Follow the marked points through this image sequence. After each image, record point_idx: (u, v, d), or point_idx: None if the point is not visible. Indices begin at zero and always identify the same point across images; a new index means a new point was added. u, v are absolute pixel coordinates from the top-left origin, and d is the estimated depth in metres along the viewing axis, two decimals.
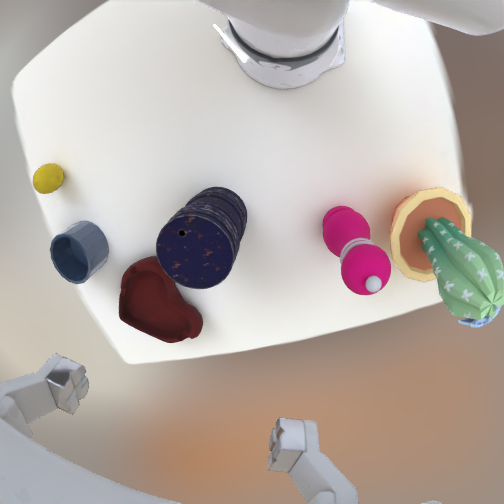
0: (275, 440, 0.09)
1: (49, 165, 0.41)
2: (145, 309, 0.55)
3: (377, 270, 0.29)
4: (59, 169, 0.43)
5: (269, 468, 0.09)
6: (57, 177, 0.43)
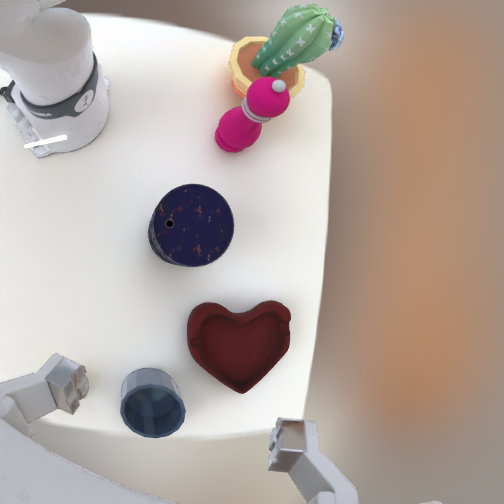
0: (275, 440, 0.09)
1: None
2: (242, 360, 0.48)
3: (269, 82, 0.33)
4: None
5: (269, 468, 0.09)
6: None
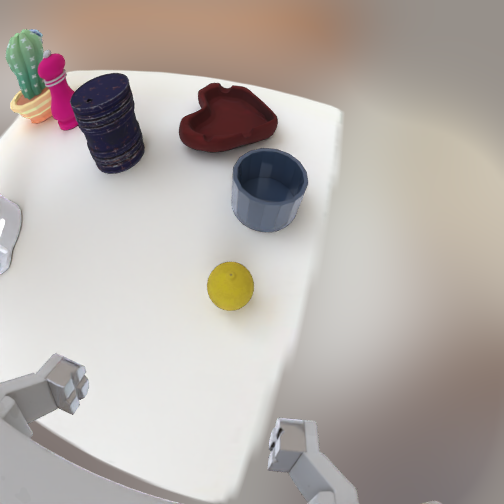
0: (275, 440, 0.09)
1: (210, 296, 0.33)
2: (247, 120, 0.50)
3: (42, 60, 0.34)
4: None
5: (269, 468, 0.09)
6: None
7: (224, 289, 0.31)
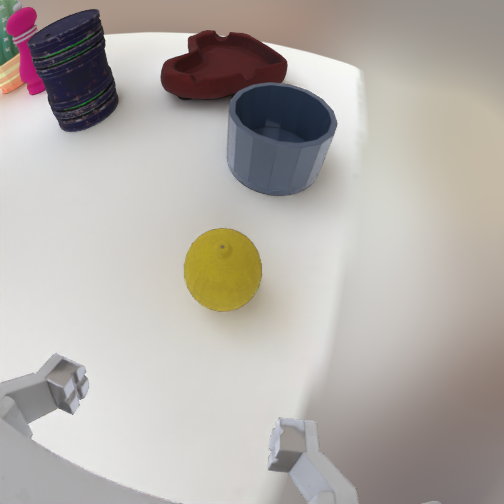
0: (275, 440, 0.09)
1: (188, 286, 0.20)
2: (248, 66, 0.36)
3: (12, 15, 0.20)
4: None
5: (269, 468, 0.09)
6: None
7: (210, 273, 0.17)
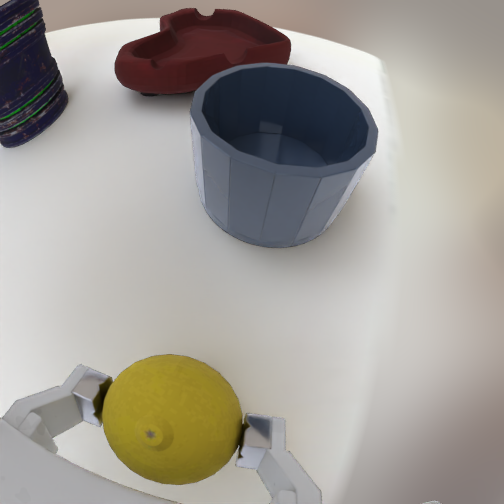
0: (243, 436, 0.09)
1: None
2: (237, 49, 0.25)
3: None
4: None
5: (236, 464, 0.09)
6: None
7: (138, 465, 0.07)
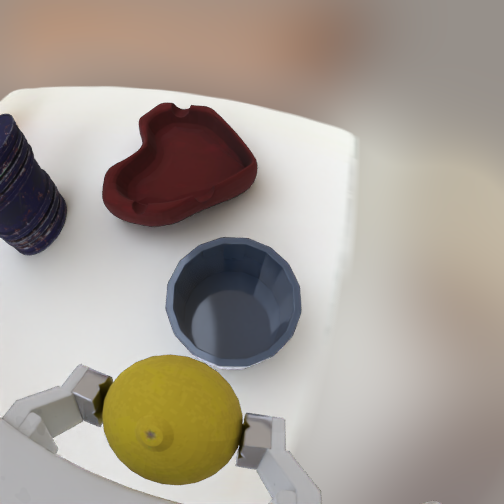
0: (243, 436, 0.09)
1: None
2: (210, 163, 0.33)
3: None
4: None
5: (236, 464, 0.09)
6: None
7: (138, 465, 0.07)
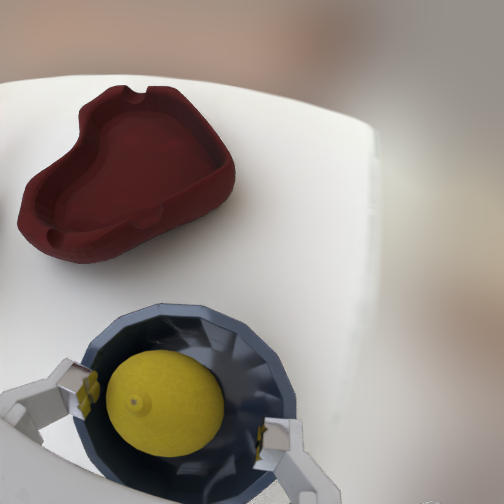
0: (260, 438, 0.09)
1: None
2: (168, 166, 0.22)
3: None
4: None
5: (253, 466, 0.09)
6: None
7: (127, 431, 0.09)
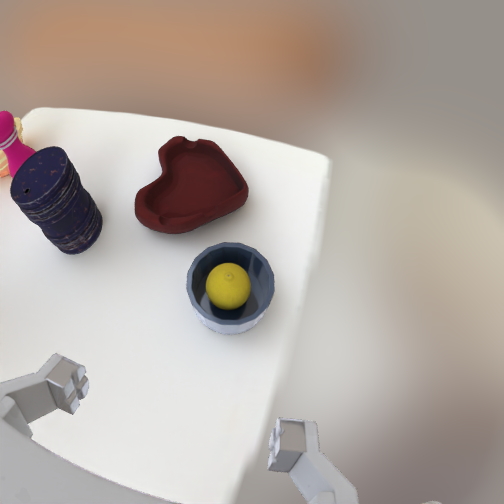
0: (275, 440, 0.09)
1: (208, 296, 0.35)
2: (214, 186, 0.45)
3: None
4: None
5: (269, 468, 0.09)
6: None
7: (222, 289, 0.32)
